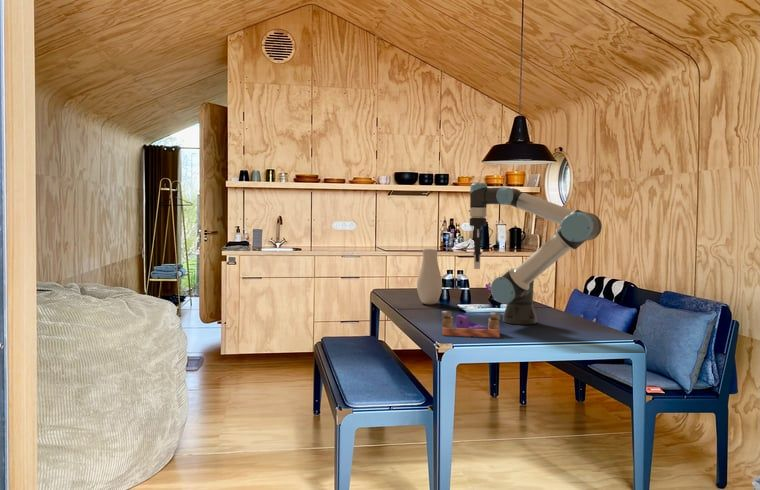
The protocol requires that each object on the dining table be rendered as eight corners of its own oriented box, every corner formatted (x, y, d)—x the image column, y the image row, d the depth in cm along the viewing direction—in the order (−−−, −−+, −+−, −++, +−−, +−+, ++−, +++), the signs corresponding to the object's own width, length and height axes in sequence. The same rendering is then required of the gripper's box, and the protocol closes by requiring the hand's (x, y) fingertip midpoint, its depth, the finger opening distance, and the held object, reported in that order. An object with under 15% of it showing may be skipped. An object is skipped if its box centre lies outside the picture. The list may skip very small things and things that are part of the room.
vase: (429, 301, 345) (430, 248, 343) (447, 304, 334) (448, 249, 333) (411, 303, 336) (412, 248, 334) (429, 306, 325) (430, 250, 324)
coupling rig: (499, 332, 256) (499, 311, 256) (500, 337, 246) (501, 315, 246) (441, 330, 260) (442, 309, 259) (440, 335, 249) (441, 313, 249)
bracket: (464, 334, 254) (464, 317, 254) (456, 331, 261) (456, 315, 260) (489, 332, 259) (489, 316, 258) (480, 329, 265) (480, 313, 265)
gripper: (469, 217, 286) (468, 267, 287) (469, 217, 273) (468, 270, 274) (485, 217, 285) (484, 267, 286) (487, 217, 272) (485, 270, 273)
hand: (477, 268), depth 280 cm, fingers closed
